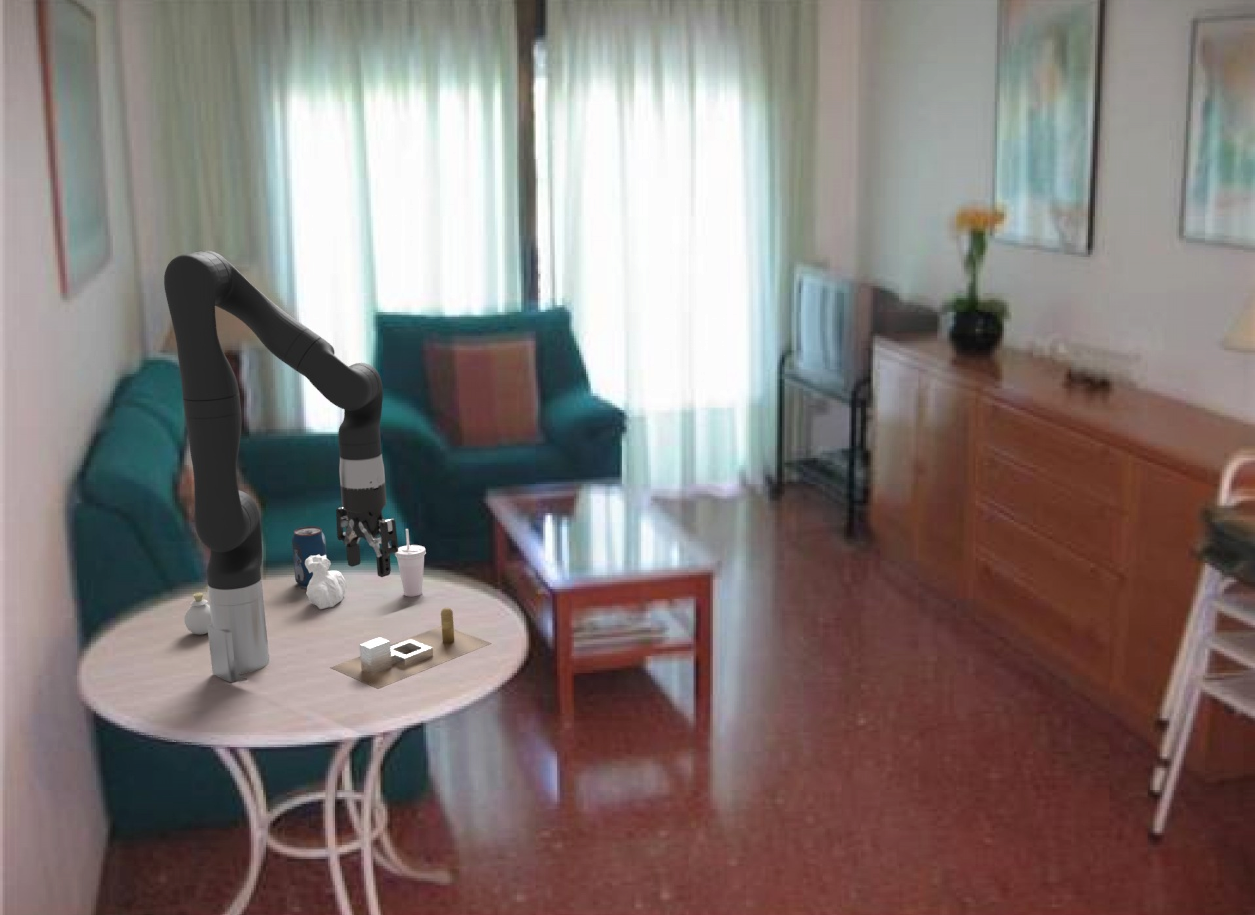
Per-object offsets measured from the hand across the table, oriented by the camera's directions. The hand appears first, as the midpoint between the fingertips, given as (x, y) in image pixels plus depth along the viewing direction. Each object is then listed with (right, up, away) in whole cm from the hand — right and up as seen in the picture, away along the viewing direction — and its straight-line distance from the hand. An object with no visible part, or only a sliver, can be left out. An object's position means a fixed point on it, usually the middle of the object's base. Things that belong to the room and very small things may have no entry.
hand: (369, 570), depth 226 cm
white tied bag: (-17, -11, +42) cm, 47 cm away
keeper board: (+6, -18, +11) cm, 22 cm away
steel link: (+3, -17, +7) cm, 19 cm away
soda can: (-23, -8, +54) cm, 59 cm away
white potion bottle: (-37, -15, +27) cm, 48 cm away
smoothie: (0, -9, +46) cm, 47 cm away
